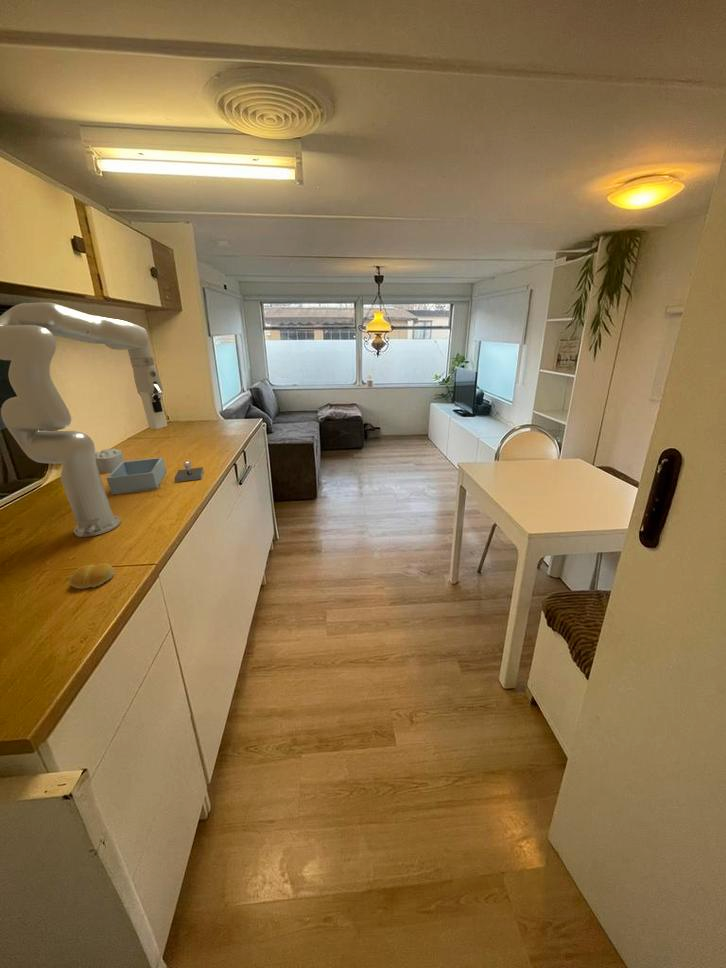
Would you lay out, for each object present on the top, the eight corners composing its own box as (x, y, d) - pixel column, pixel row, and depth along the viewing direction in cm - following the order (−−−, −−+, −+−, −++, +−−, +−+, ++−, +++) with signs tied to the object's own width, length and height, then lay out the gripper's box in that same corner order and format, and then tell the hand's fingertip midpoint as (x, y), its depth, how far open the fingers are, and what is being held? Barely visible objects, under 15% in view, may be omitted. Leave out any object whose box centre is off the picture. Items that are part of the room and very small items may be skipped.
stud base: (201, 479, 157) (198, 463, 154) (175, 482, 154) (171, 466, 151) (203, 471, 165) (200, 456, 163) (179, 474, 163) (175, 459, 160)
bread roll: (107, 587, 92) (102, 573, 90) (67, 592, 91) (61, 579, 89) (120, 567, 100) (116, 555, 98) (83, 572, 98) (78, 559, 97)
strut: (167, 426, 150) (159, 390, 144) (156, 428, 146) (147, 392, 141) (160, 424, 152) (151, 390, 147) (149, 427, 148) (139, 391, 143)
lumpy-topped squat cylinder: (126, 462, 180) (121, 445, 177) (123, 471, 169) (118, 453, 166) (101, 466, 176) (95, 449, 173) (96, 475, 165) (90, 457, 162)
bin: (157, 489, 148) (152, 472, 145) (111, 495, 144) (106, 478, 141) (166, 472, 166) (162, 457, 163) (126, 477, 162) (121, 461, 159)
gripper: (165, 362, 139) (176, 411, 146) (139, 361, 147) (150, 408, 154) (146, 364, 133) (158, 415, 140) (119, 363, 141) (132, 411, 148)
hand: (154, 410), depth 147 cm, fingers closed on strut, 4 cm apart
